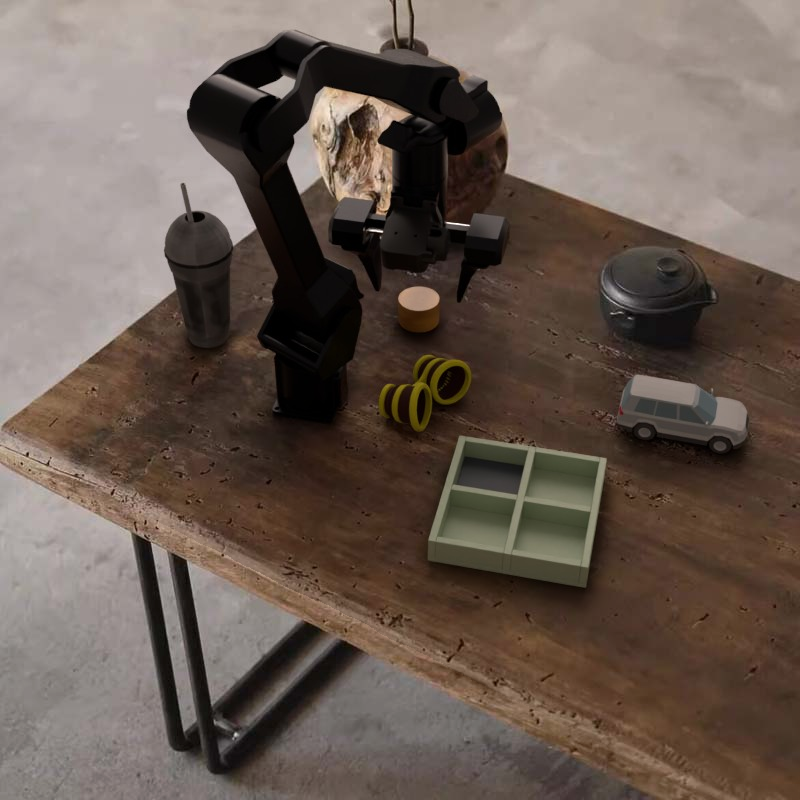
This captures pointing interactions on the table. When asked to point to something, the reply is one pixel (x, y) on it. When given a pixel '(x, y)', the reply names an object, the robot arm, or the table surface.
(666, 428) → the toy car
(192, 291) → the beverage cup
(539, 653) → the table surface
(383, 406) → the opera glasses
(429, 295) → the cylinder
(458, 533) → the grid
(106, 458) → the table surface
